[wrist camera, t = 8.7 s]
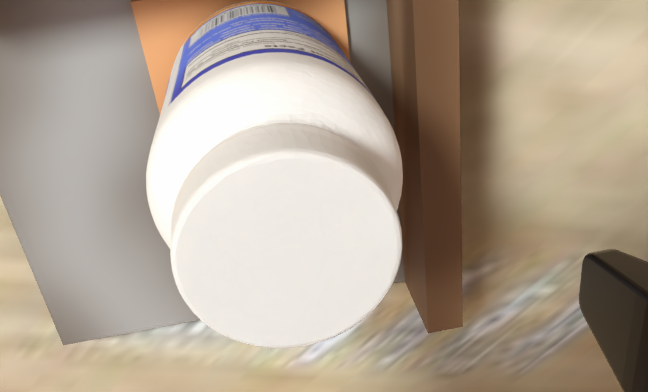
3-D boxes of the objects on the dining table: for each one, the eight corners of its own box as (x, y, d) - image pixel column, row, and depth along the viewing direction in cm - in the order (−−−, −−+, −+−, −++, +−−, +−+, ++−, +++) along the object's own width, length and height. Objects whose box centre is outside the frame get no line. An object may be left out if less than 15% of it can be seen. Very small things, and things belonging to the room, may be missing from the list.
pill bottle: (301, 189, 21) (357, 411, 12) (144, 131, 19) (83, 342, 11) (378, 42, 19) (506, 185, 10) (209, -39, 17) (200, 55, 9)
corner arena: (410, -139, 18) (457, -141, 14) (428, 261, 25) (462, 326, 21) (-93, -71, 17) (-176, -54, 13) (69, 327, 24) (42, 407, 20)
